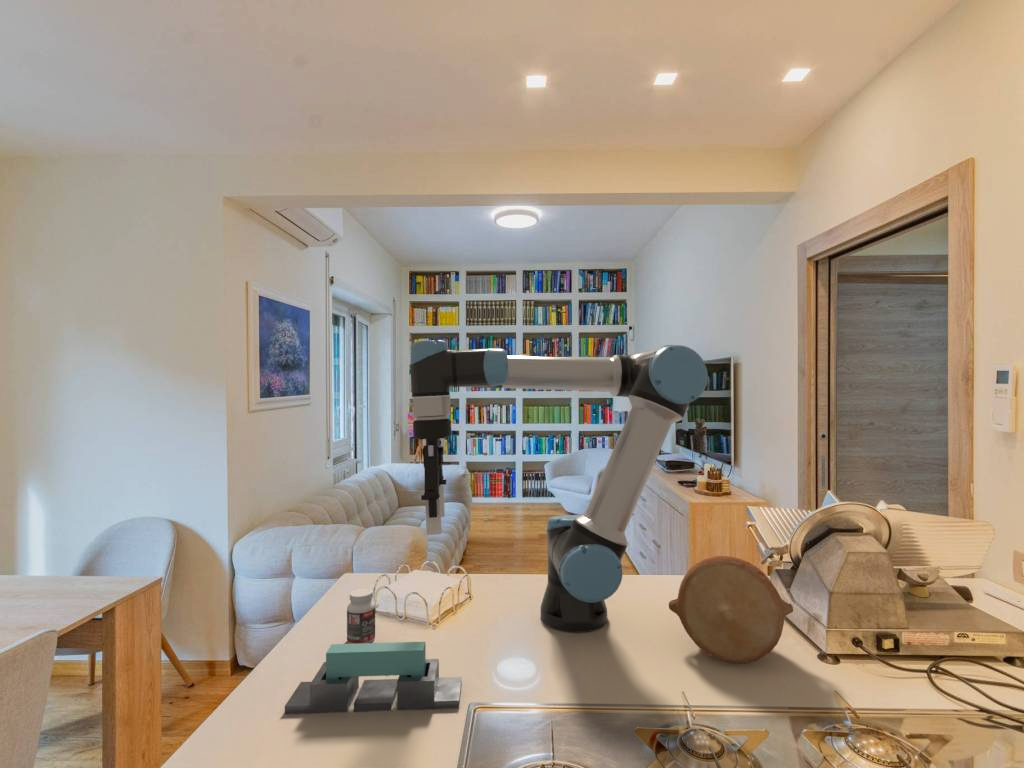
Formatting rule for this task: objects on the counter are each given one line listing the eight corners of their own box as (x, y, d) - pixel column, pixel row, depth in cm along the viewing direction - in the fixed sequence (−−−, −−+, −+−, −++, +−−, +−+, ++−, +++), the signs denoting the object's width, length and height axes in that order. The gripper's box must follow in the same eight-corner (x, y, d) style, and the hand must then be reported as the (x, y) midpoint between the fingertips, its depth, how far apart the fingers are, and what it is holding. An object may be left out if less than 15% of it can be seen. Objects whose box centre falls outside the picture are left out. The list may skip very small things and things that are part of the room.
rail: (461, 683, 90) (461, 658, 91) (459, 708, 84) (458, 680, 84) (300, 688, 89) (300, 662, 90) (284, 713, 82) (284, 685, 83)
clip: (425, 685, 88) (425, 641, 88) (423, 695, 85) (423, 650, 85) (331, 688, 88) (331, 644, 88) (326, 698, 85) (326, 653, 85)
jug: (652, 601, 97) (659, 569, 125) (720, 698, 91) (711, 641, 119) (742, 542, 93) (728, 523, 121) (818, 639, 88) (785, 595, 116)
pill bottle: (367, 648, 104) (367, 598, 104) (341, 645, 105) (341, 596, 105) (380, 635, 109) (379, 588, 110) (355, 632, 111) (355, 586, 111)
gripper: (418, 416, 114) (422, 511, 114) (405, 422, 90) (410, 544, 89) (452, 414, 115) (456, 509, 115) (448, 420, 90) (453, 541, 90)
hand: (436, 525), depth 102 cm, fingers open, 13 cm apart
